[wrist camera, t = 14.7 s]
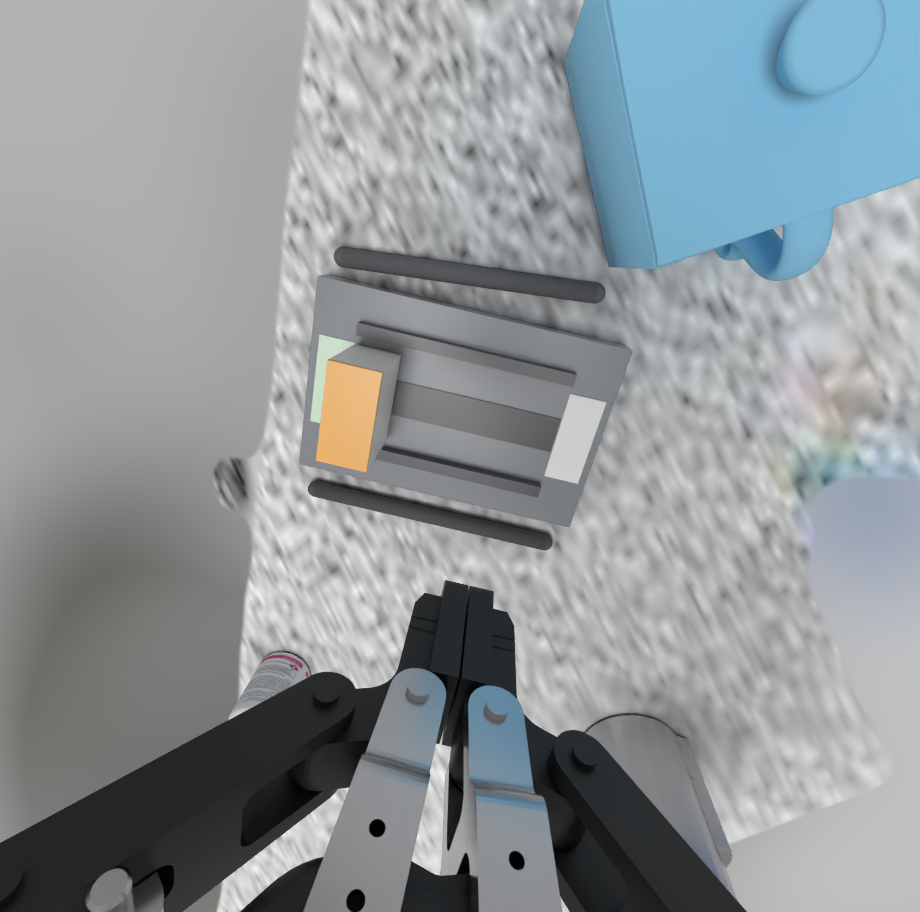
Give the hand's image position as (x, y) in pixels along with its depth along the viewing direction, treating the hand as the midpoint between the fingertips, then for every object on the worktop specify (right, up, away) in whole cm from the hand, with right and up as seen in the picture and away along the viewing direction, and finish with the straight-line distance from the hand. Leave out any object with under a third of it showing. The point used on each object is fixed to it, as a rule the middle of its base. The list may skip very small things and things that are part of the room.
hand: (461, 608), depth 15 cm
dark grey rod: (-2, 0, +23) cm, 23 cm away
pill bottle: (-16, -15, +31) cm, 38 cm away
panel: (0, +8, +20) cm, 21 cm away
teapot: (+16, +24, +12) cm, 31 cm away
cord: (+1, +16, +16) cm, 23 cm away
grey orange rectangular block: (-6, +9, +17) cm, 20 cm away
